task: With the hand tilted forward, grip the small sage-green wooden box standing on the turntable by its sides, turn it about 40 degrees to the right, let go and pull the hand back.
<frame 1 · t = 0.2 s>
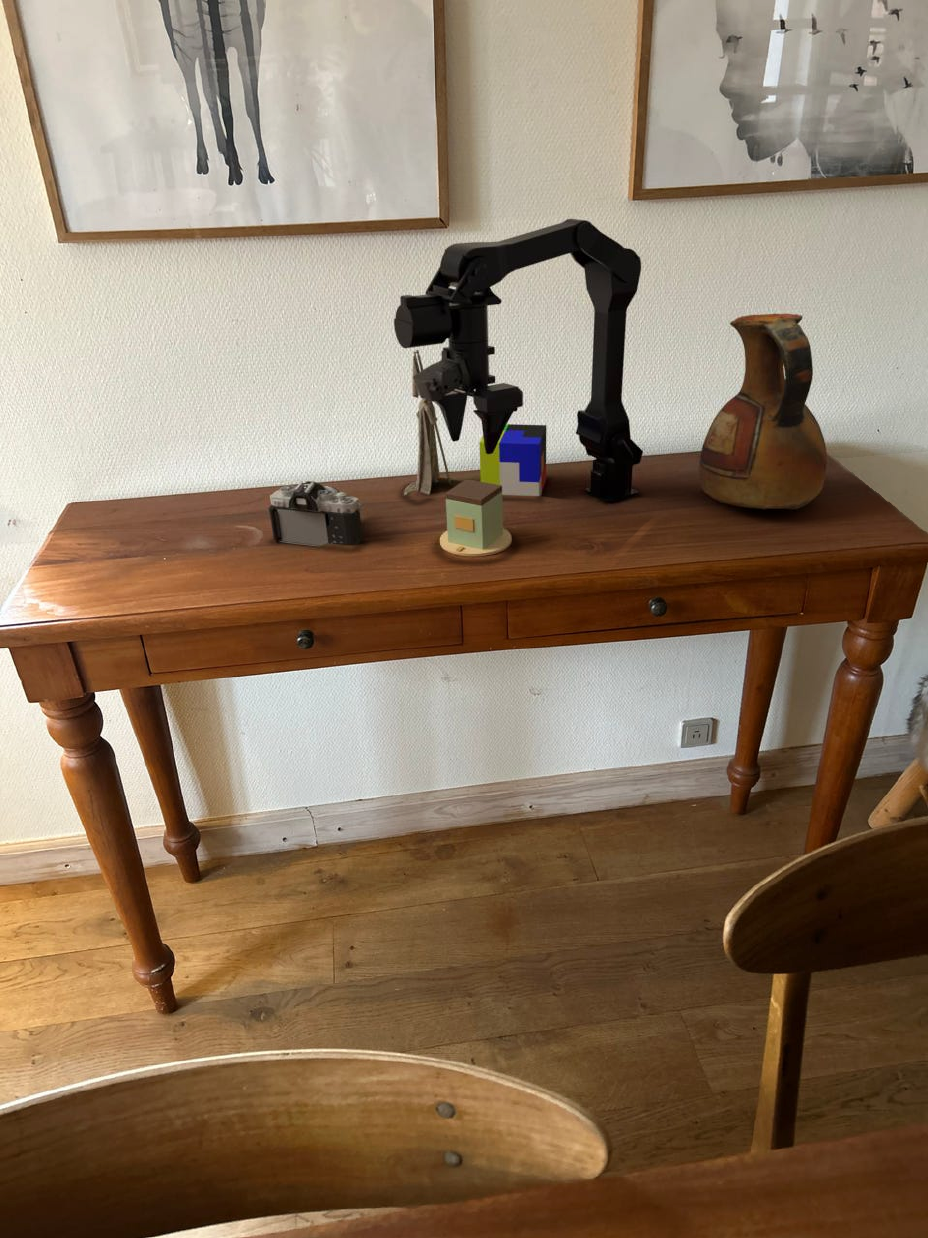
hand: (472, 447, 135), 14 cm above the table, tool pointing down, fingers open, 9 cm apart
puzzle toy: (514, 489, 158), on the table
turntable: (475, 546, 138), on the table
wizard figurine: (427, 492, 158), on the table
box: (474, 515, 135), point 5 cm above the table, hinge at 0.0°
ceramic pitcher: (757, 502, 149), on the table
camera: (323, 538, 143), on the table
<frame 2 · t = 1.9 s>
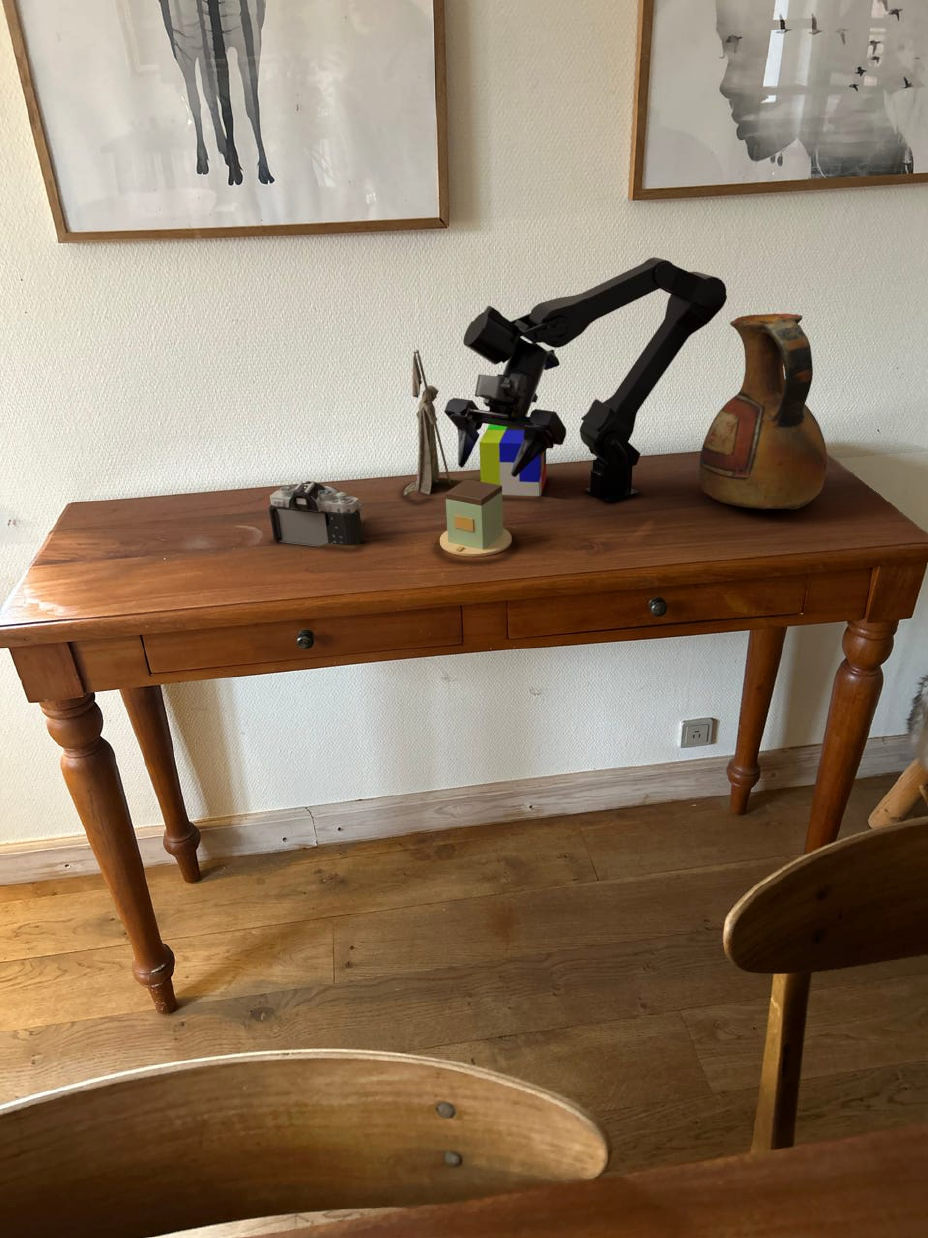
hand: (486, 470, 135), 11 cm above the table, tool tilted 45°, fingers open, 9 cm apart
nothing on the table moved.
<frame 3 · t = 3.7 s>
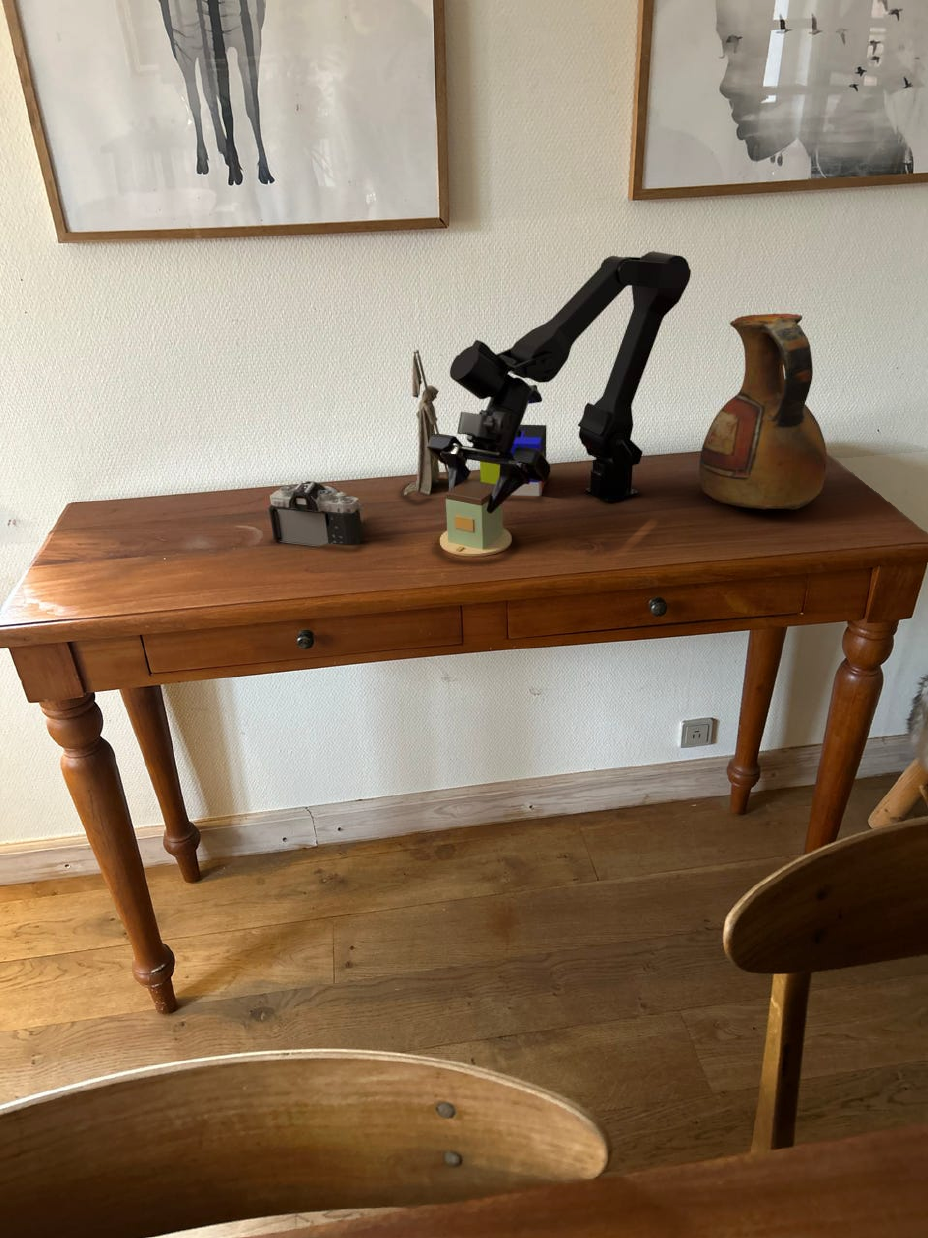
hand: (469, 508, 133), 7 cm above the table, tool tilted 45°, fingers closed on box, 6 cm apart
box: (474, 515, 135), point 5 cm above the table, hinge at -0.1°, touching gripper
everything else where it was.
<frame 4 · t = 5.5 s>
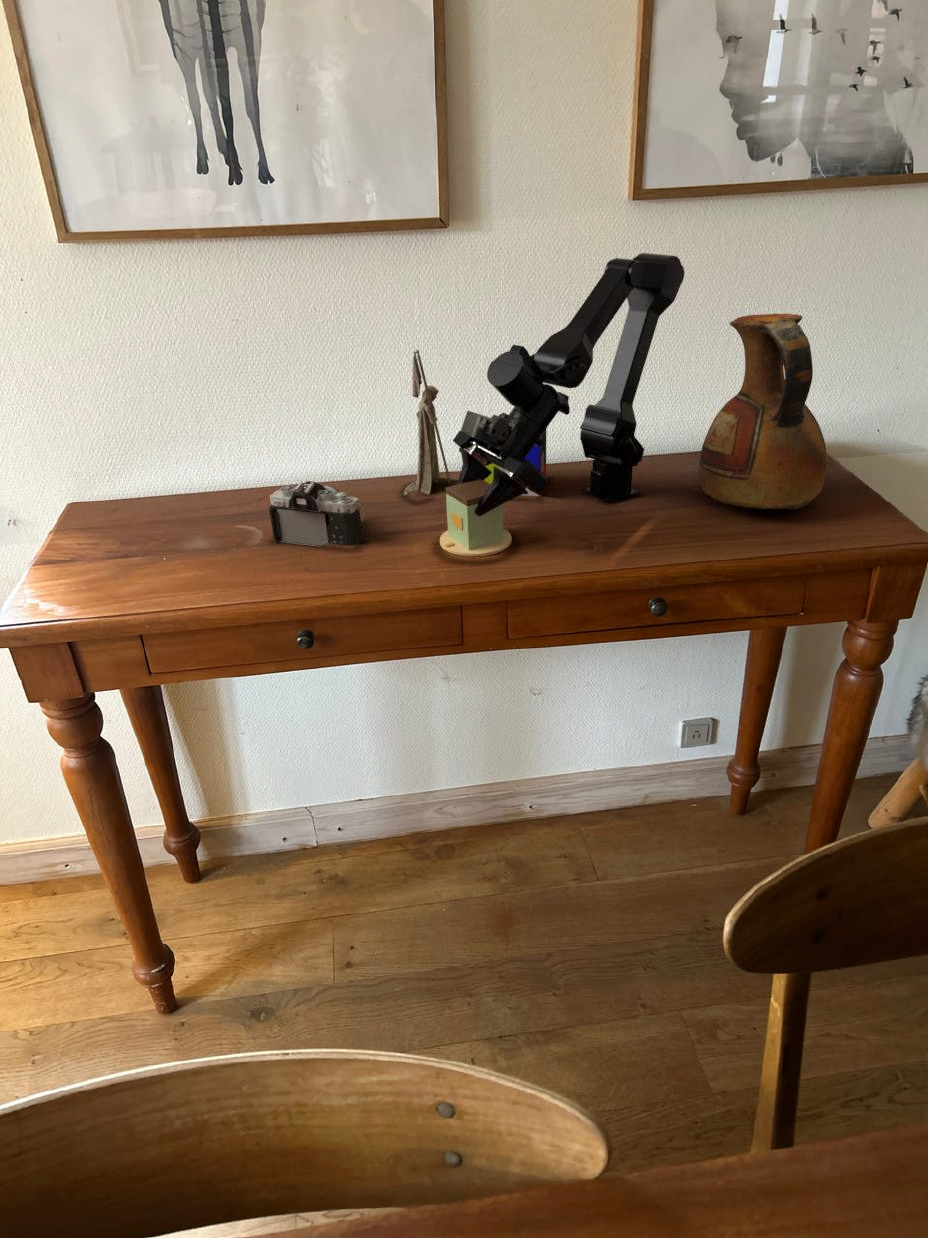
hand: (465, 507, 134), 7 cm above the table, tool tilted 45°, fingers closed on box, 6 cm apart
box: (474, 515, 135), point 5 cm above the table, hinge at -28.0°, touching gripper
everything else where it was.
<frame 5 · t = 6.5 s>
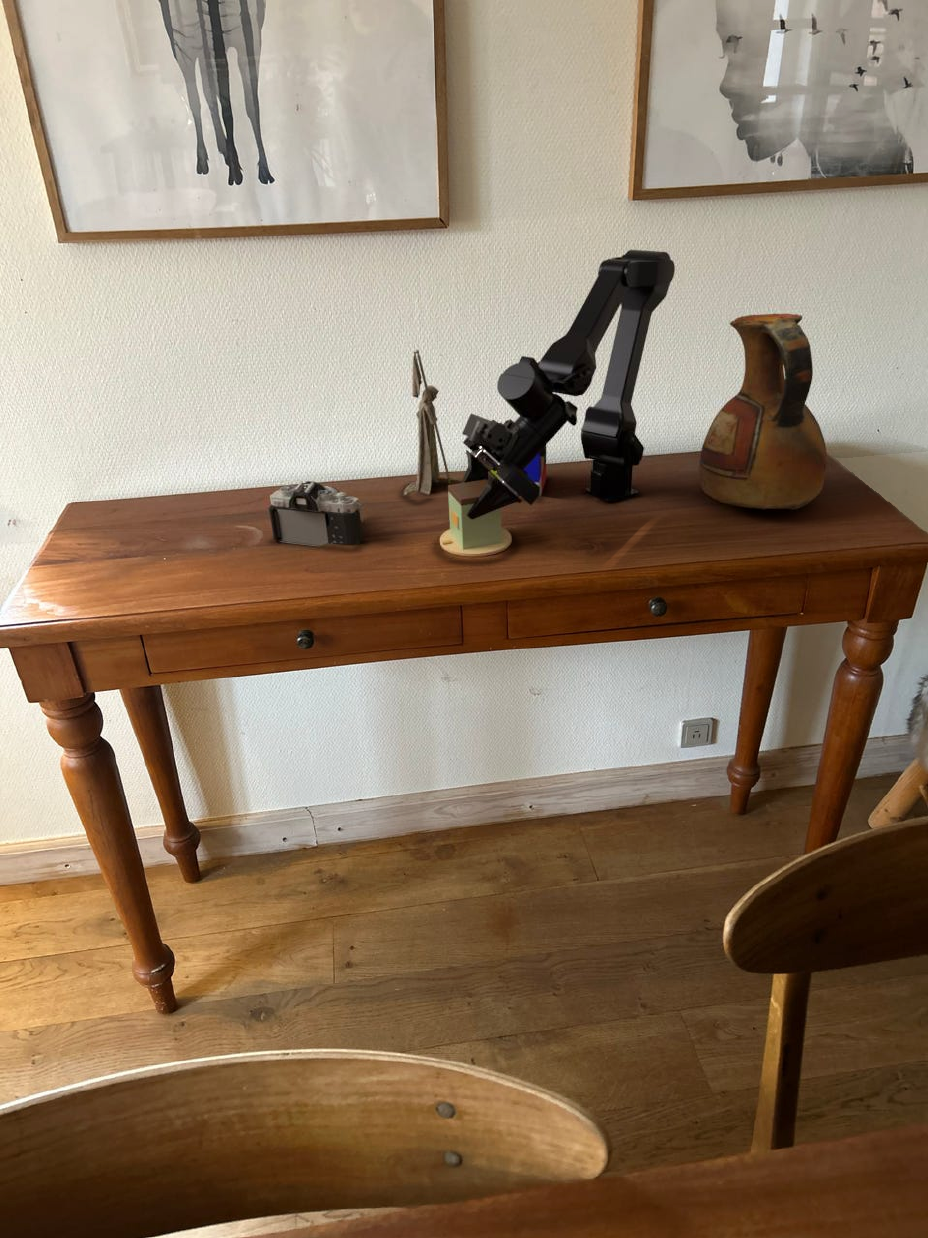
hand: (462, 509, 134), 6 cm above the table, tool tilted 45°, fingers closed on box, 6 cm apart
box: (474, 515, 135), point 5 cm above the table, hinge at -40.3°, touching gripper
everything else where it was.
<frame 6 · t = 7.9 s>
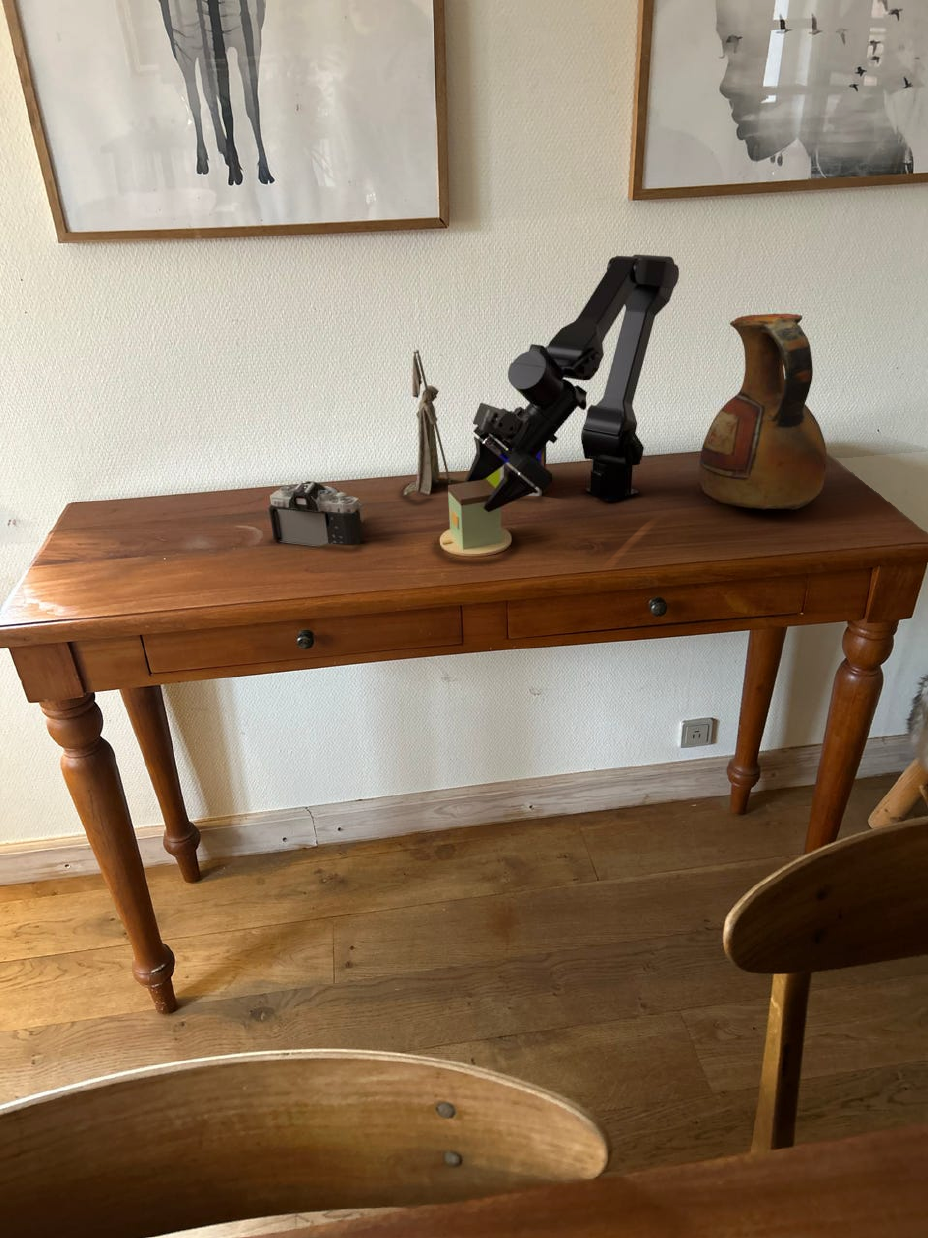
hand: (475, 499, 134), 8 cm above the table, tool tilted 45°, fingers open, 9 cm apart
box: (474, 515, 135), point 5 cm above the table, hinge at -40.4°
everything else where it was.
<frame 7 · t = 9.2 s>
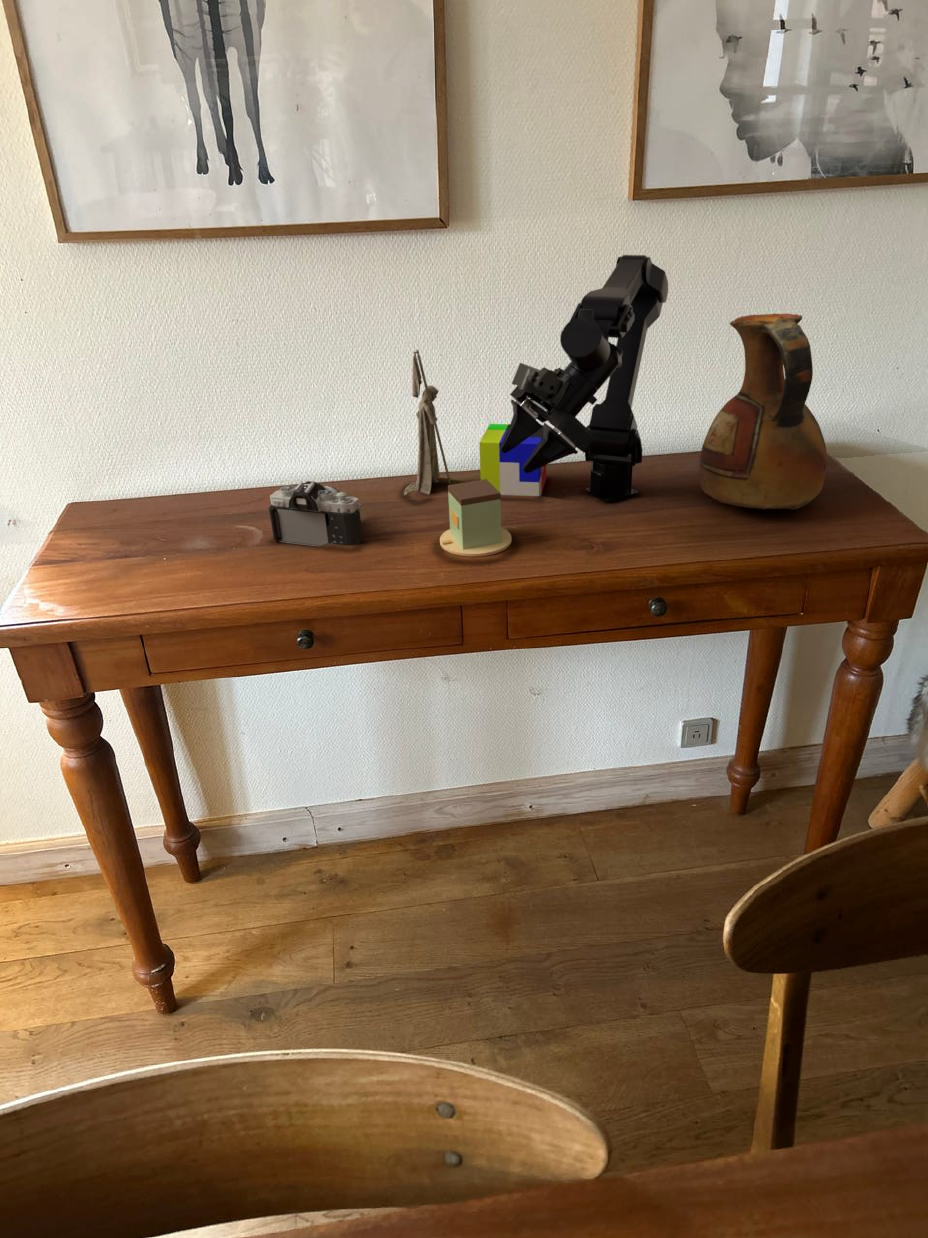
hand: (513, 461, 133), 13 cm above the table, tool tilted 45°, fingers open, 9 cm apart
nothing on the table moved.
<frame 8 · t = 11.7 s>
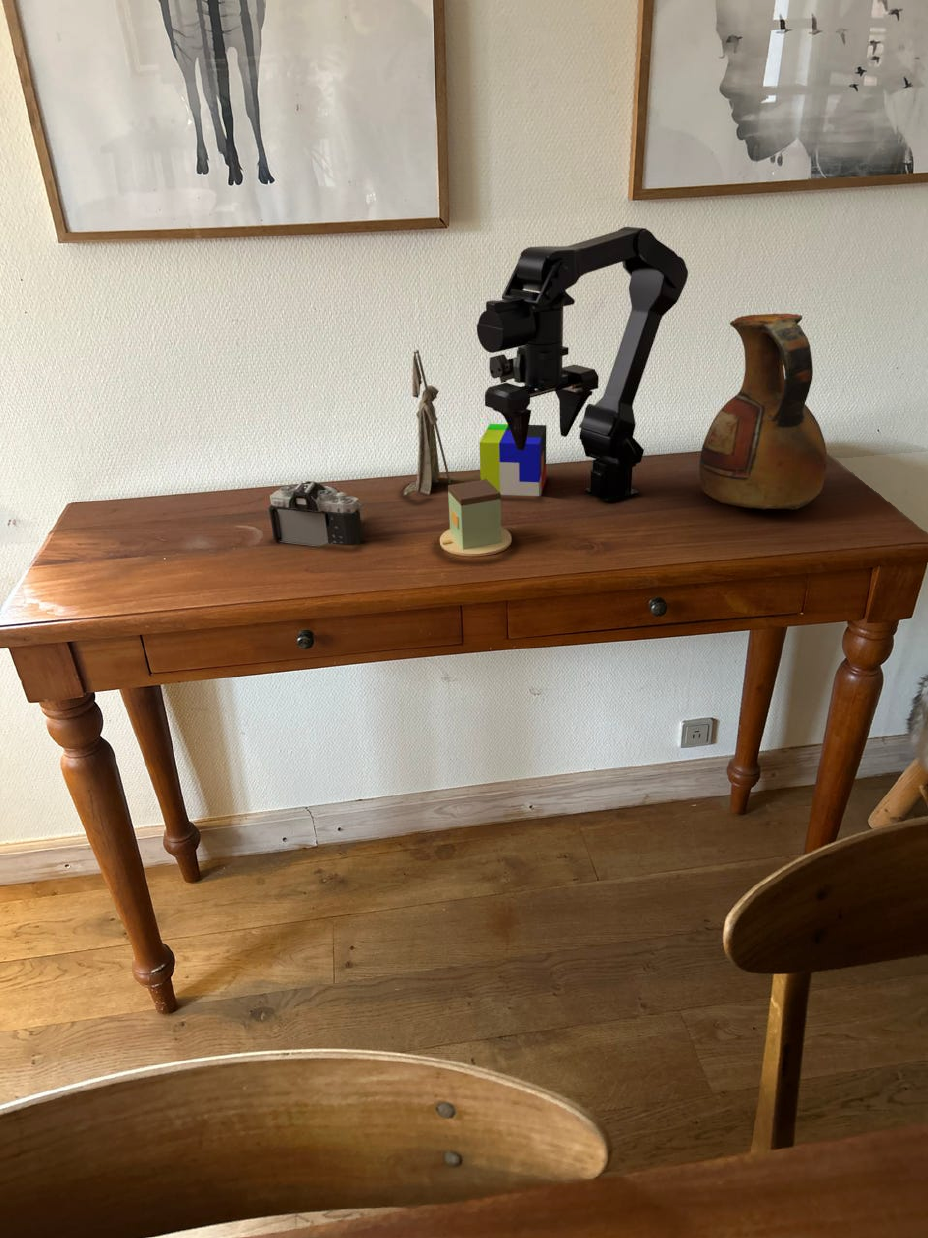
hand: (542, 442, 139), 13 cm above the table, tool pointing down, fingers open, 9 cm apart
nothing on the table moved.
at the end: box at -40° (first picture: +0°); the gripper is holding nothing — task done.
